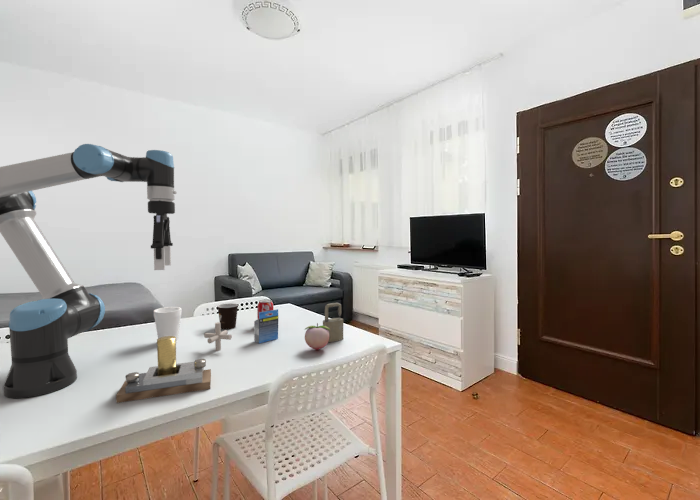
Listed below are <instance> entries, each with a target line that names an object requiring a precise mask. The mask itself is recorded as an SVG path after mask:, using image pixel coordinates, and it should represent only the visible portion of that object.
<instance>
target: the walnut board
mask: <svg viewBox="0 0 700 500" xmlns="http://www.w3.org/2000/svg"><path fill="white" fill-rule="evenodd" d="M211 379H212V370H211V368H209V369H204V371H203V381H202V383H196V384H189V385H182V386H175V387H168V388H162V389H155V390H148V391H141V392H134V393H127V394H126V391H125V388H126V386H127V384H128V383H126V379H125V380H124V382H123V383H122V385H121V387H120V388H119V390H118V392H117V394H116V395H115V396H116V398H115V399H116V400H115V402H116V404H119V403H124V402H125V403H126V402H132V401H139V400H140V401H141V400H145V399H152V398H153V399H154V398H159V397H164V396H172V395H177V394H186V393H191V392H197V391H204V390H205V391H206V390H211V381H212V380H211Z"/></svg>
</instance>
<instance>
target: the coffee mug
mask: <svg viewBox="0 0 700 500" xmlns="http://www.w3.org/2000/svg"><path fill="white" fill-rule="evenodd" d="M238 306H239V305H238V304H237V303H222V304H218V305H217V311H218V312H217V313H218V319H219V321H218V322H220V325H221V330H223V331H224V330H227V331H228V330H233V329H235V328H237V319H238V318H237V317H238V308H239V307H238Z"/></svg>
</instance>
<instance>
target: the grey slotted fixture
mask: <svg viewBox="0 0 700 500" xmlns="http://www.w3.org/2000/svg"><path fill="white" fill-rule="evenodd" d="M206 363H207V360H206V359H205V358H198V359H195V360H194V361H189V362H182V363H176V372H177V374H170V375H163V376H158V365H155V366H149V368H148V370H147V372H137V371H135V372H130V373H128V374H126V375H125V380H126V383H128V384H127V386H126V388H125V391H126V394H127V393H134V392H141V391H148V390H155V389H162V388H168V387H175V386H182V385H189V384H196V383H202V381H203V371H204V370H205V369H204V368H206V366H207V364H206Z"/></svg>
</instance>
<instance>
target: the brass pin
mask: <svg viewBox="0 0 700 500" xmlns="http://www.w3.org/2000/svg"><path fill="white" fill-rule="evenodd" d="M176 346H177V343H176V337H175V336H165V337H161V338H158V337H157V339H156V348H157V350H156V351H157V366H158V376H163V375H170V374H177V372H176V364H177V347H176Z"/></svg>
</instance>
